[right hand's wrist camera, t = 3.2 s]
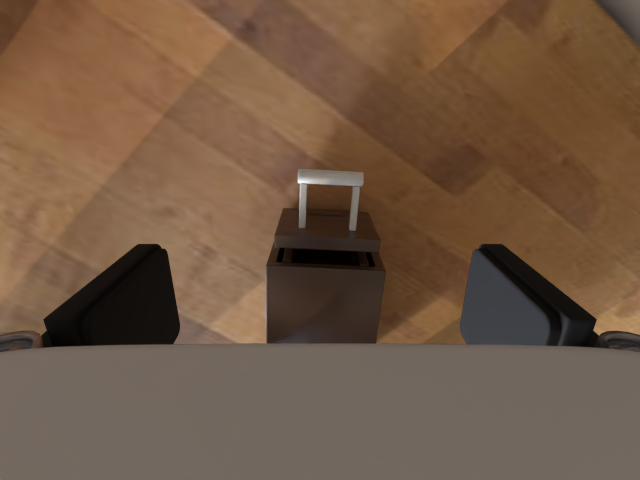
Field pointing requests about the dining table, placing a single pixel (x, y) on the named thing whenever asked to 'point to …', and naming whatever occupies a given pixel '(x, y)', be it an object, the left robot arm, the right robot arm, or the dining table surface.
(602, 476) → the right robot arm
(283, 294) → the cabinet
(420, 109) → the dining table surface
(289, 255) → the drawer
